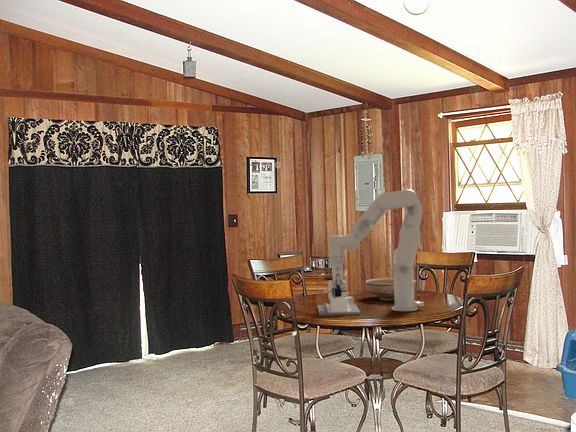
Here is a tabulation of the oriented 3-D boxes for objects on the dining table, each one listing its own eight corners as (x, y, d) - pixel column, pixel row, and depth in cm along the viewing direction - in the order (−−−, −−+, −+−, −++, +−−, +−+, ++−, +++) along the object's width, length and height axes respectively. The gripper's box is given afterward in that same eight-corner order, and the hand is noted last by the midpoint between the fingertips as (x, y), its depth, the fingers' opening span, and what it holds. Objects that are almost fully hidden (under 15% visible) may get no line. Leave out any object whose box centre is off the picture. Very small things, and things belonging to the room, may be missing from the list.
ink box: (330, 305, 319) (329, 281, 319) (328, 304, 324) (327, 280, 324) (347, 304, 320) (346, 281, 320) (345, 303, 325) (344, 280, 325)
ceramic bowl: (366, 294, 380) (366, 277, 380) (415, 293, 375) (415, 276, 375) (363, 303, 344) (363, 285, 343) (417, 303, 339) (417, 284, 339)
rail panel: (355, 306, 334) (355, 291, 334) (360, 314, 309) (360, 298, 309) (317, 307, 335) (317, 292, 335) (319, 315, 310) (318, 299, 310)
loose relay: (350, 303, 345) (350, 296, 345) (353, 304, 342) (353, 297, 342) (343, 304, 344) (343, 296, 344) (346, 305, 340) (346, 297, 340)
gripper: (345, 261, 313) (346, 297, 313) (343, 258, 330) (344, 293, 330) (330, 261, 313) (331, 298, 313) (328, 258, 330) (329, 293, 331)
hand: (337, 295), depth 322 cm, fingers closed on ink box, 5 cm apart
